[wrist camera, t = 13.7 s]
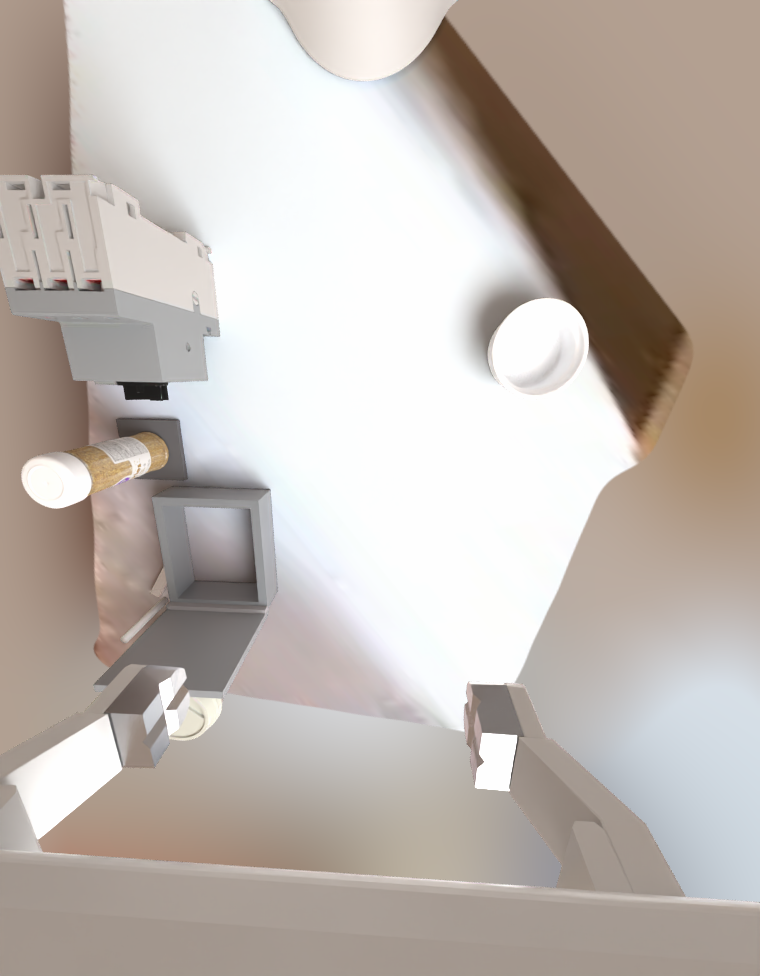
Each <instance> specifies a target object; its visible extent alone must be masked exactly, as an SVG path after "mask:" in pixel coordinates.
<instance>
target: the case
mask: <svg viewBox="0 0 760 976" xmlns="http://www.w3.org/2000/svg"><path fill="white" fill-rule="evenodd" d="M152 502H153V508H154V513H155V519H156V525H157V530H158V536H159V542H160V547H161V553H162V559H163V564H164V570H165V576H166V582H167V587H168V593H169V599H170V602H169V603H168V604H167V605H166V608H167V610H166V611H165V612H164V613H163V614H162V615H161V616H160V617H159V618H158V619H157V620H156V621H155V622H154V623H153V624H152V625H151V626H150V627H149V628H148V629H147V630H146V631H145V632H144V633H143V634H142V635H141V636H140V637H139V638H138V639H137V640H136V641H135V642H134V643H133V644H132V646H131V647H130V648H129V649H128V650H127V651H126V652H125V653H124V654H123V655H122V656H121V657H120V658H119V659H118V660H117V661H116V662H115V663H114V664H113V665H112V666H111V667H110V668H109V669H108V670H107V671H106V672H105V673H104V674H103V675H102V676H101V677H100V678H99V680H97V681H96V683H95V684H94V685H93V686H94V690H95V692H102V691H103V690H104V689H105V688H106V687H107V686H108V685H109V684H110V683H111V682H112V681H113V679H114V678H115V677H116V676H117V675H118V674H119V673H120V672H121V671H122V670H123V669H124V668H125V667H126V666H128V665H130V664H138V665H155V666H168V667H180V668H183V669H185V673H186V677H187V678H186V680H185V681H184V683H183V685H184V686H185V687H186V688H187V689H188V690H189V695H190V697H199V698H217V699H224V697H225V695H226V693H227V691H228V690H229V688H230V686H231V684H232V682H233V680H234V678H235V676H236V675H237V673H238V671H239V669H240V667H241V665H242V663H243V661H244V660H245V658H246V656H247V654H248V652H249V650H250V648H251V646H252V644H253V643H254V641H255V639H256V637H257V635H258V633H259V631H260V629H261V628H262V626H263V624H264V622H265V620H266V618H267V616H268V608H269V606H270V604H271V602H272V601H273V599H274V597H275V595H276V593H277V592H278V587H277V573H276V559H275V546H274V532H273V518H272V504H271V491H270V490H265V489H236V488H206V487H177V486H172V487H170V488H168V489H166V490H164V491H163V492H161V493H159V494H157V495H155V496H153V497H152ZM184 507H209V508H237V509H250V512H251V523H252V534H253V545H254V556H255V567H256V578H257V583H235V582H212V581H195V579H194V572H193V565H192V559H191V552H190V545H189V538H188V532H187V525H186V518H185V512H184ZM167 602H168V599H167V598H166V597H163V598H162V599H161V600H160V601H159V602H158V603H157V604H156V605H155V606H154V607H152V608H151V609H150V610H149V611H148V612H147V613H146V614H145V615H144V616H143V617H142V618H141V619H140V620H139V621H138V622H137V623H136V624H135V625H134V626H133V627H132V628H131V629H130V630H129V631H127V632H126V633H125V634H124V635H123V636H122V637H121V639H120V640H121V642H123V643H127V642H128V641H129V640H130V639H131V638H132V637H133V636H134V635H135V634H136V633H137V632H138V631H139V630H140V629H141V628H142V627H143V626H144V625H145V624H146V623H147V622H148V621H149V620H150V619H151V618H152V617H153V616H154V615H155V614H156V613H157V612H158V611H159V610H160V609H161V608H162V607H163V606H164V605H165V604H166V603H167Z"/></svg>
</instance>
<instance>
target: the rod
mask: <svg viewBox="0 0 760 976" xmlns="http://www.w3.org/2000/svg"><path fill="white" fill-rule="evenodd" d="M166 586H167V582H166V576H165V570H164V566H163V568H162V570H161V572H160V574H159V576H158V578H157V580H156V582H155V584H154V586H153V588H152V590H151V592H150V594H152V595H154V596H156V597H158V598H159V597H160V596H161V595H162V593H163V592H164V590H165V588H166Z"/></svg>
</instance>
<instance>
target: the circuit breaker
mask: <svg viewBox="0 0 760 976" xmlns="http://www.w3.org/2000/svg"><path fill="white" fill-rule="evenodd" d="M41 179H42V180H39V179H36V178H34V177H31V176H29V175H0V271H1V275H2V279H3V283H4V286H5V287H6V288H5V290H6V294H7V298H8V302H9V306H10V310H11V313H12V314H13V315H17V316H24V317H30V318H37V319H43V320H50V321H57V322H59V323H60V325H61V329H62V334H63V338H64V342H65V347H66V350H67V355H68V359H69V363H70V368H71V372H72V376H73V380H78V381H94V382H95V384H108V385H123V388H124V393H125V399H126V400H142V399H150V400H156V401H163V400H169V399H168V392H167V385H168V382H187V381H208V376H207V367H206V358H205V349H204V341H203V336H215V337H220V330H219V320H217V319H218V311H217V301H216V292H215V282H214V273H213V264H212V263H210V262H209V261H208V254H211V248H209V247H204V246H203V243H202V242H200V241H199V240H197V239H196V238H194V237H193V236H191V235H190V234H188V233H187V232H167V231H165V230H164V229H162V228H160V227H159V226H157V225H155V224H154V223H152V222H151V221H149V220H147V219H146V218H144V217H142V216H141V214H140V207H139V201H138V200H137V199H135V198H134V197H132V196H131V195H129V194H128V193H126V192H125V191H123V190H122V189H120V188H119V187H117V186H115V185H113V184H111V183H103V182H101V181H99V180H98V177H96V176H94V175H41Z"/></svg>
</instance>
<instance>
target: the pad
mask: <svg viewBox="0 0 760 976" xmlns="http://www.w3.org/2000/svg"><path fill="white" fill-rule="evenodd" d="M116 422H117V427H118V432H119V437H120V438H122V437H130V436H134V435H136V434H138V433H142V432H150V433H153V434H156V435H157V436H159V437H160V438H161V439H162V440H163V441H164V442H165V444H166V446H167V448H168V451H169V452H168V453H169V457H168V461H167V463H166V464H165V466H164V467H162V468H161V469H159V470H155V471H150V472H148V473H145V474H143V475H141V476H139V477H136V478H133V479H159V480H187V479H188V478H187V471H186V464H185V457H184V450H183V443H182V436H181V429H180V422H179V420H152V419H116Z"/></svg>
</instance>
